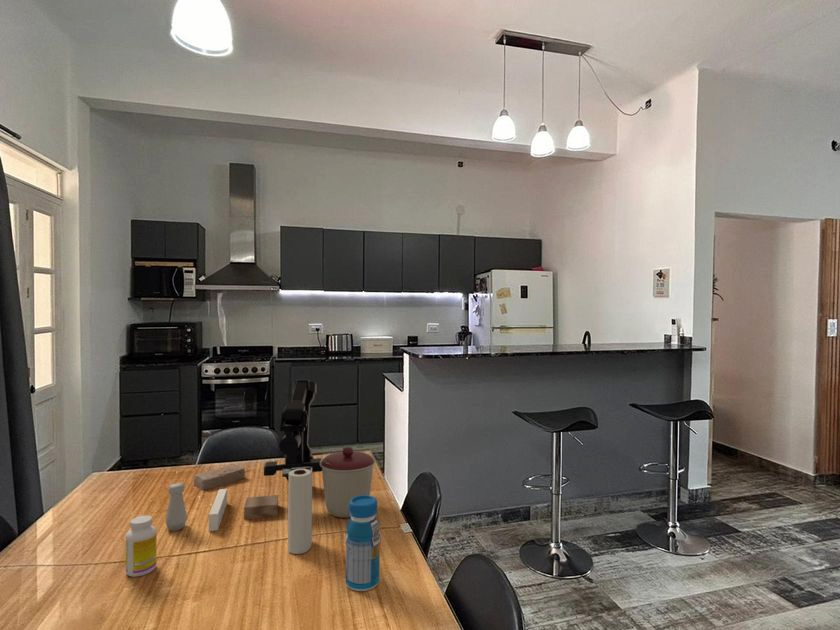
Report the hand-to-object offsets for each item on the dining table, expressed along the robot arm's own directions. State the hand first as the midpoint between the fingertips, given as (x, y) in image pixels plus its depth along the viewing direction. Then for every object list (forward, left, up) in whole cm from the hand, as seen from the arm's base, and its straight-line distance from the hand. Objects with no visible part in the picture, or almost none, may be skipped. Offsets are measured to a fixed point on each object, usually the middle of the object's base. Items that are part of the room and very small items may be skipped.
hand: (293, 492), depth 153 cm
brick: (+27, -32, -6) cm, 42 cm away
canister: (-17, +6, -6) cm, 19 cm away
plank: (+23, 0, -5) cm, 24 cm away
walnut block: (+10, 0, -6) cm, 12 cm away
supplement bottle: (+37, +28, -6) cm, 47 cm away
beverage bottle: (-16, +47, -6) cm, 50 cm away
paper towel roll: (-2, +27, -6) cm, 28 cm away
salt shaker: (+34, +5, -6) cm, 35 cm away
